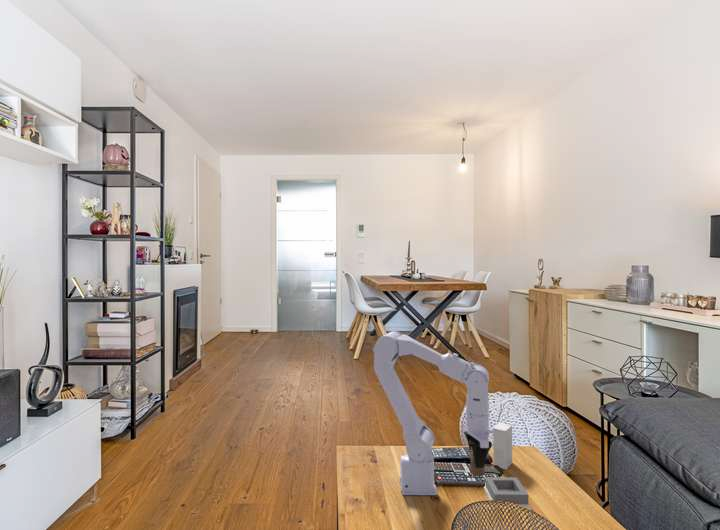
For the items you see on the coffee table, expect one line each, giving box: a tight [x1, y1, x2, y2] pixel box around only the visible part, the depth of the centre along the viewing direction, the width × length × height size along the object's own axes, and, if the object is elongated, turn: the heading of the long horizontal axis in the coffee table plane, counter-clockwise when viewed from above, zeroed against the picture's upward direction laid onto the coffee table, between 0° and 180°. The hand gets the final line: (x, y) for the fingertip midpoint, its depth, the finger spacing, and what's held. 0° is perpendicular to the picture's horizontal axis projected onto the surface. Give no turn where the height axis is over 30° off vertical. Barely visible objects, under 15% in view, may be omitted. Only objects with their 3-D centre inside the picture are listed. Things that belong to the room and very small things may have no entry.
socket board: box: [483, 476, 533, 511], centre depth 113 cm, size 9×12×4 cm
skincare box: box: [492, 422, 513, 471], centre depth 132 cm, size 6×4×12 cm
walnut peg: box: [470, 448, 486, 477], centre depth 113 cm, size 4×4×7 cm
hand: (477, 463), depth 113 cm, fingers closed on walnut peg, 4 cm apart
